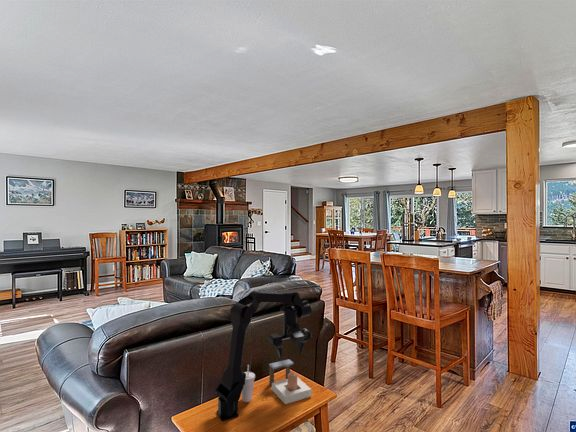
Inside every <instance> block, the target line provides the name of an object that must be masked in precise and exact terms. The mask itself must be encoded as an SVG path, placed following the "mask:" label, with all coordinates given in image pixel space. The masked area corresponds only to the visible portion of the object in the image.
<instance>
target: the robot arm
mask: <svg viewBox="0 0 576 432" xmlns="http://www.w3.org/2000/svg"><path fill="white" fill-rule="evenodd" d="M261 303H282V304H283V305H282V306H281V307H280V309H279V311H280V312H283V320H282V325H283V330H282V335H279V334H278V333H272V334H269V335H268V337H267V342H269V344H271V345H272V346H274V347H275V350H276V352H277V355H278V358H279V359H280V360H282V356H283V355H282V354H283V353H282V352H283V351H282V347H283V341H284V340H285V341H286V340H289V339H290V340H291V342H292V343H293V344H296V346H297V354H298V355H299V356H300V355H301V354H302V350H303V348H304V345H305V343H306V342H307V341H309V340H311V339H312V337H313V336H312V331H310V330H309V329H307V328H300V327H299V323H298V319H302V318H304V317H309V316H310V315H311V314H312V312H313V311H312V307H311V305H310V303H309V300H302V299H301V297H300V294H299V292H297V291H294V290H293V291H292V290H289V289H284V290H281V291H278V292H276V291H274V292H273V291H256V290H252V291H250V292H249V293H248V294H247V295H246V296H244V297H242V298H241V299H239V300H238V301H237V302H236V303H234V304H233V305H232V306H231V307H230V311H229V312H230V313H229V314H230V315H229V316H230V322H231V327H232V332H231V340H230V347H229V354H228V355H229V356H228V364H227V366H226V369H225V370H224V372H223V374H222V377H221V381H220V383H219V384H218V385H217V386H216V388H215V390H214V392H215V396H218V398H217V400H218V401H217V410H216V413H217V416H218V418H219V419H220V421H221V422H224V421H227V420H230V419H234V418H238V417H239V400H240V398H241V396H242V393H241V392H242V390H243V387H244V385H245V378H246V373H244V372H245V371H243V370H242V361H243V355H244V354H243V353H244V348H245V347H244V345H245V337H246V330H247V328H248V327H249V326H250V324H251V321H252V317H253V316H254V314H255V313H256V312H257V311H258V308H259V305H260V304H261Z"/></svg>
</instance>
